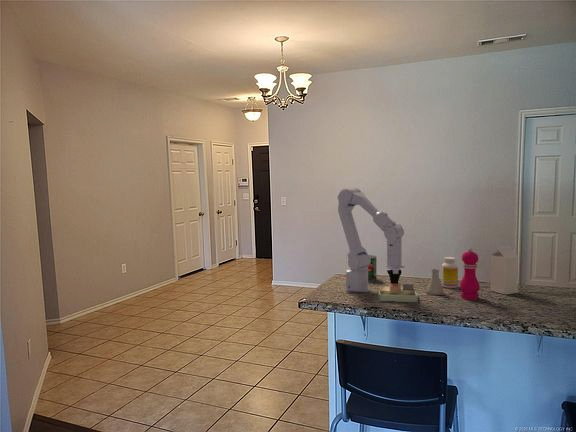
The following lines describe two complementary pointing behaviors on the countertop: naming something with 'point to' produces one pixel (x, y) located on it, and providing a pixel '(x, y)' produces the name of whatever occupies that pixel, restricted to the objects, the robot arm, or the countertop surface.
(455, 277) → the supplement bottle
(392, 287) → the terracotta tile
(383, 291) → the birch plate
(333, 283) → the countertop surface
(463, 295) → the pepper mill
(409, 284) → the slate tile
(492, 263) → the milk carton
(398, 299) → the box
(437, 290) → the flask
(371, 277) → the canned tomato
